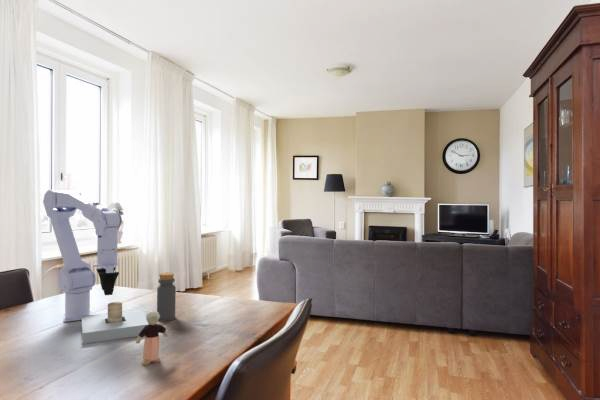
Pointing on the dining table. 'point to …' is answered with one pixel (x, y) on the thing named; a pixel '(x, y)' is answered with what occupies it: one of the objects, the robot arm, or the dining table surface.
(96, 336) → the socket block
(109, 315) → the peg
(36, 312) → the dining table surface
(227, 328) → the dining table surface
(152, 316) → the grandmother figurine
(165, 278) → the bottle
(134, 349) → the dining table surface
